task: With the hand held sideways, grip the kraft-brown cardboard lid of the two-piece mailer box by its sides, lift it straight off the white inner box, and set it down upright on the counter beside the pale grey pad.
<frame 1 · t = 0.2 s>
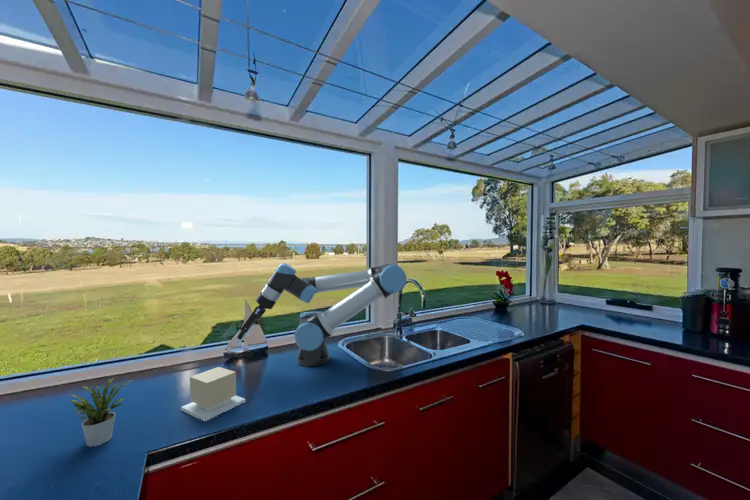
hand: (240, 340, 128), 15 cm above the worktop, tool tilted 35°, fingers open, 13 cm apart
mailer lid: (213, 398, 104), point 3 cm above the worktop, touching mailer base
house plant: (104, 438, 87), on the worktop
mailer base: (214, 406, 104), on the worktop
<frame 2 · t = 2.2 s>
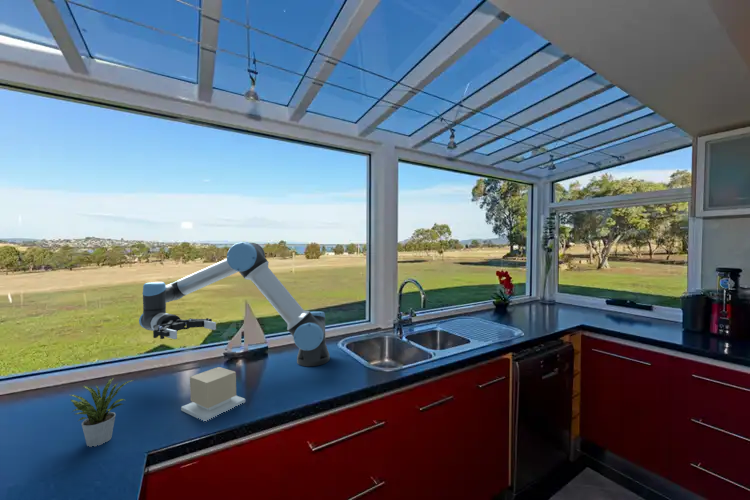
hand: (196, 330, 109), 25 cm above the worktop, tool horizontal, fingers open, 13 cm apart
nothing on the worktop moved.
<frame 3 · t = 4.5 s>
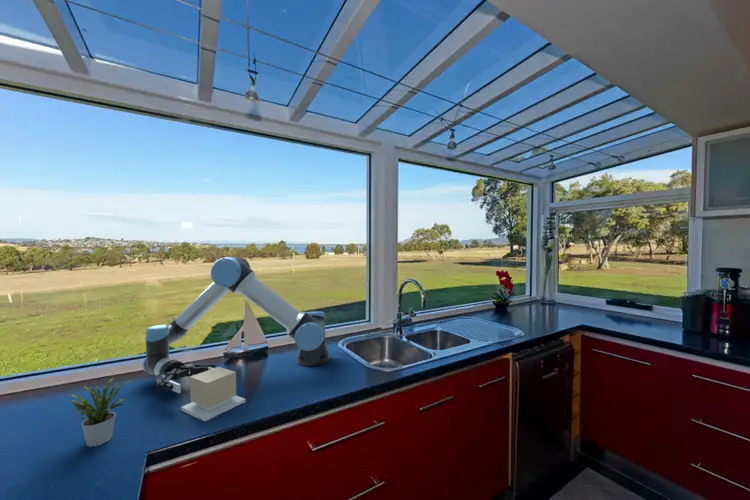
hand: (200, 381, 108), 7 cm above the worktop, tool horizontal, fingers open, 13 cm apart
nothing on the worktop moved.
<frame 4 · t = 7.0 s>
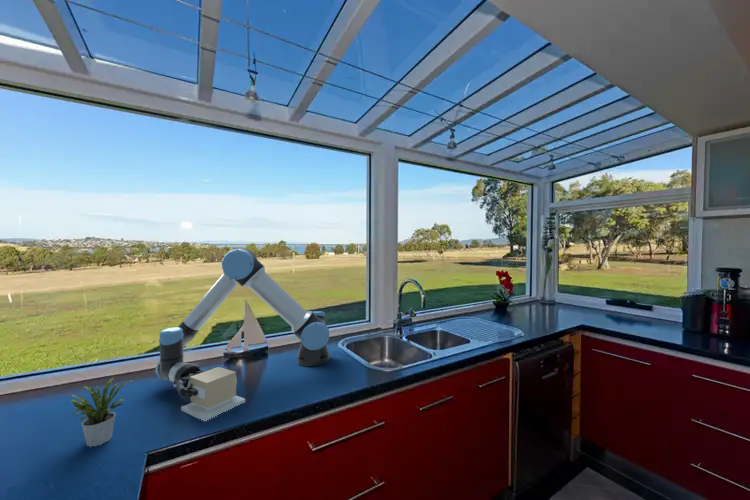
hand: (220, 387, 102), 7 cm above the worktop, tool horizontal, fingers closed on mailer lid, 10 cm apart
mailer lid: (213, 398, 104), point 3 cm above the worktop, touching gripper, mailer base
everything else where it was.
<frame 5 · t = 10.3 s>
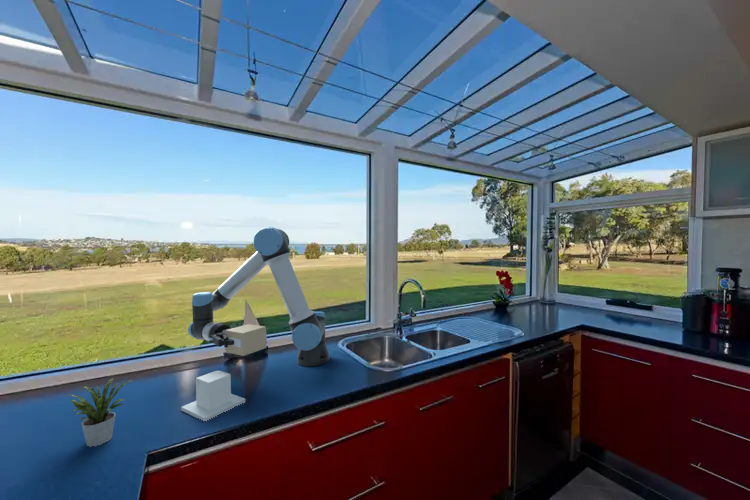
hand: (253, 339, 113), 20 cm above the worktop, tool horizontal, fingers closed on mailer lid, 10 cm apart
mailer lid: (246, 349, 115), point 15 cm above the worktop, touching gripper
everything else where it was.
when the fingers open (6 cm above the worktop, at t = 13.7 s): mailer lid drops 2 cm, on the worktop.
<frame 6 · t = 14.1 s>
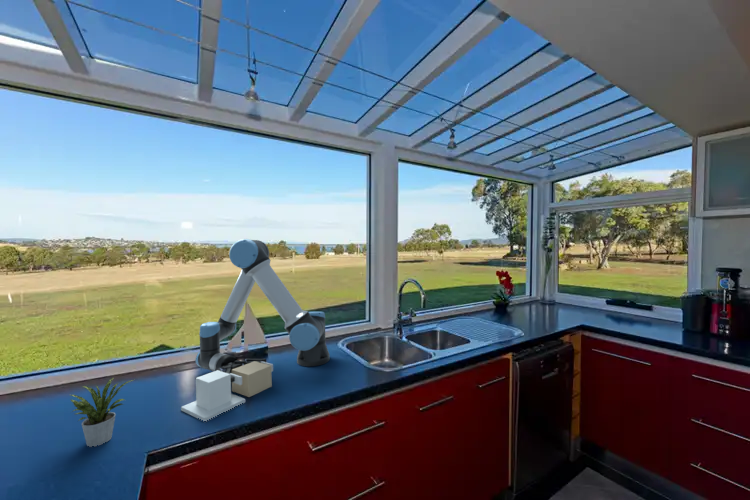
hand: (257, 374, 115), 6 cm above the worktop, tool horizontal, fingers open, 13 cm apart
mailer lid: (252, 388, 117), on the worktop
everything else where it was.
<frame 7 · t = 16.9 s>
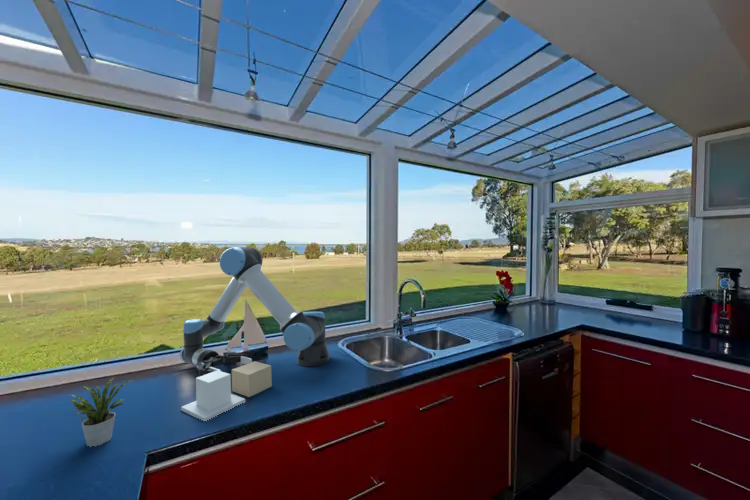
hand: (236, 367, 122), 6 cm above the worktop, tool horizontal, fingers open, 13 cm apart
nothing on the worktop moved.
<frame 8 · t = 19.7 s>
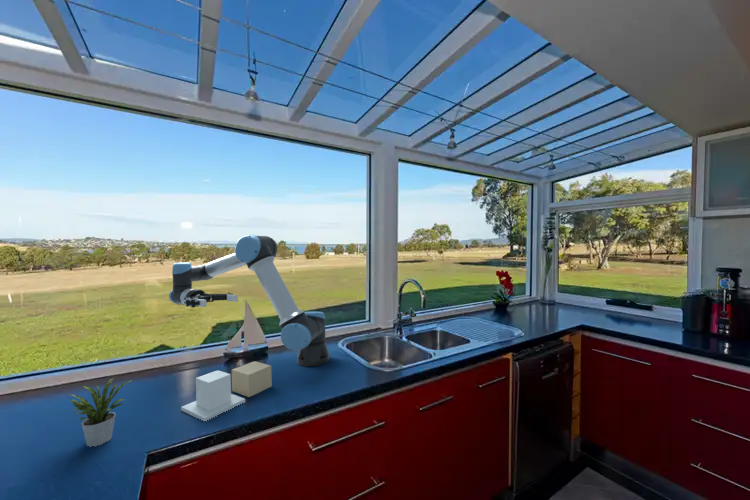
hand: (221, 300, 127), 32 cm above the worktop, tool horizontal, fingers open, 13 cm apart
nothing on the worktop moved.
at the end: mailer lid inside the target area (0.1 cm from its centre), on the worktop; mailer lid tilted 0°; the gripper is holding nothing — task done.
